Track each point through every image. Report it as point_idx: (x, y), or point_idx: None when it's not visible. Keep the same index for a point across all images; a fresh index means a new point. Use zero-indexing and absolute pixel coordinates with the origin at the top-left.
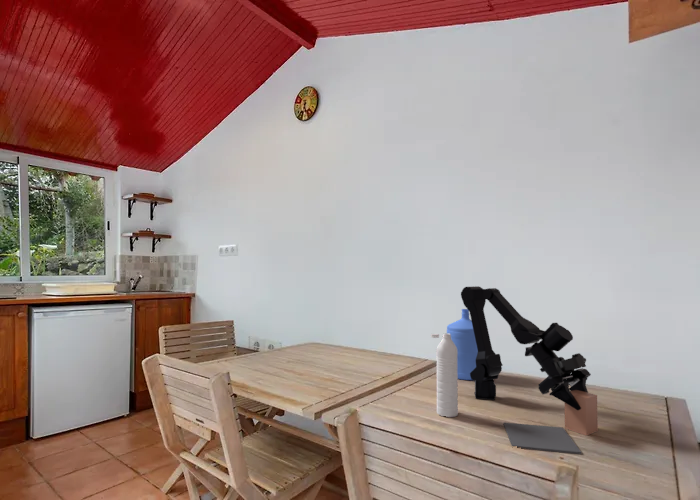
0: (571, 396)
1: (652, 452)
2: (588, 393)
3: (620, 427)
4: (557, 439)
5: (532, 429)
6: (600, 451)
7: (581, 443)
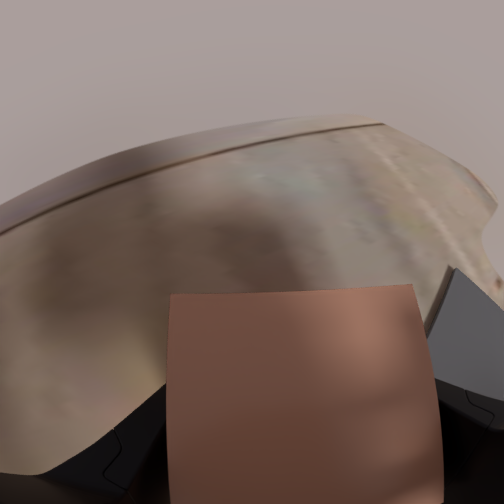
0: (468, 392)
1: (239, 181)
2: (196, 386)
3: (75, 330)
4: (464, 363)
5: None
6: (390, 255)
7: None
